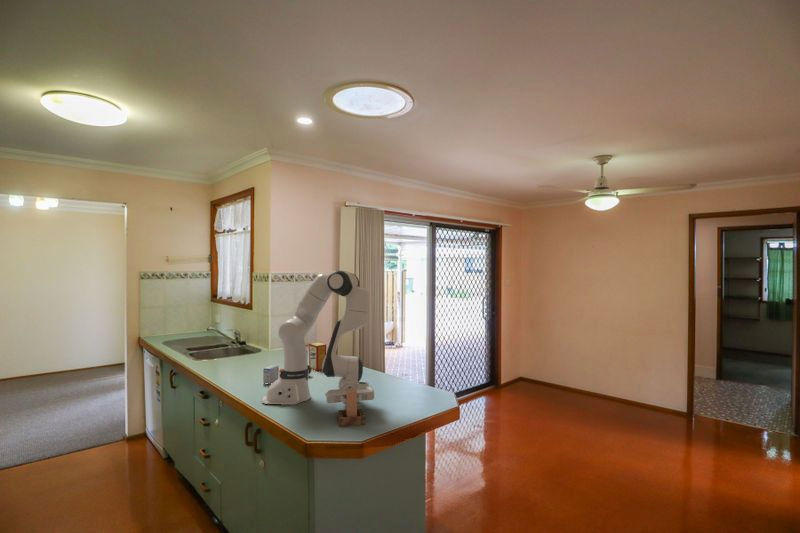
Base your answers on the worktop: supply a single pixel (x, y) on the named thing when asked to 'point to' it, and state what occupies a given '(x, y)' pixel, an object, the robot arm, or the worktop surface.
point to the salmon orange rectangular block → (351, 403)
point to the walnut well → (351, 418)
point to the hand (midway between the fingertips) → (351, 401)
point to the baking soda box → (316, 355)
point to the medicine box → (270, 374)
